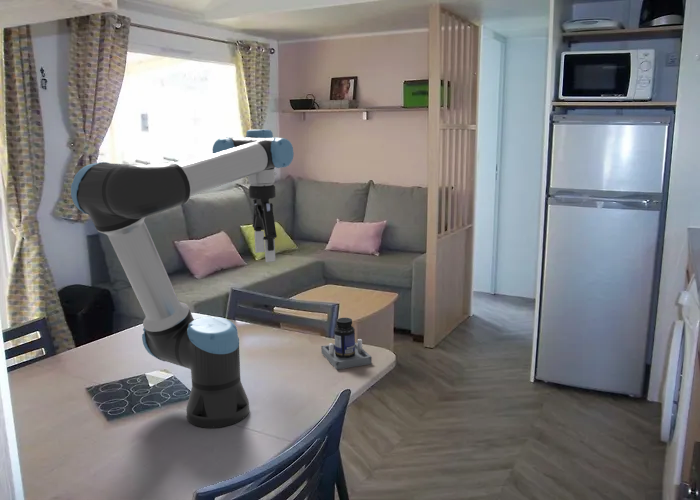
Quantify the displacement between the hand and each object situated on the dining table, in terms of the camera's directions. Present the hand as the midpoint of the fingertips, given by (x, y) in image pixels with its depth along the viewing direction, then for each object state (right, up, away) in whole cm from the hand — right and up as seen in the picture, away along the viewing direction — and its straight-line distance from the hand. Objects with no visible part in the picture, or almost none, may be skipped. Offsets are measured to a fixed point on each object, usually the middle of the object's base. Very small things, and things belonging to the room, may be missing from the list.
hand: (265, 256), depth 176 cm
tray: (+24, -31, +6) cm, 39 cm away
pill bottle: (+23, -30, +6) cm, 38 cm away
